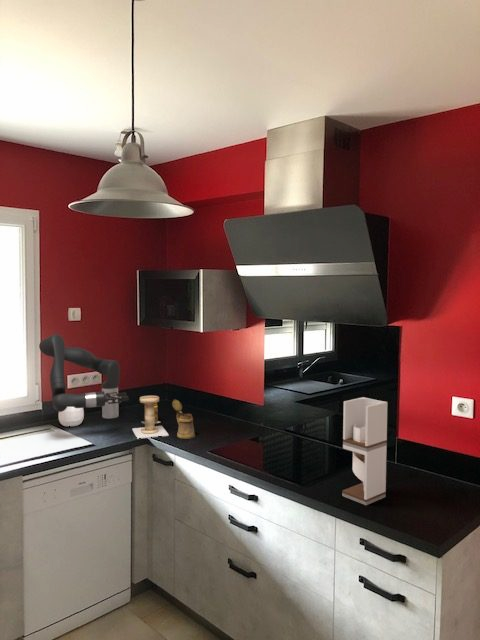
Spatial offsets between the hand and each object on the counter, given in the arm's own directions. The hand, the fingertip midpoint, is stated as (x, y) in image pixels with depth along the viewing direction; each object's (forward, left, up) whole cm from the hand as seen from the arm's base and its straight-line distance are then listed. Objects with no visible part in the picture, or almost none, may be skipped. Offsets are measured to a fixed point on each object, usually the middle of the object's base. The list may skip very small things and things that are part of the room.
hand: (127, 396), depth 268 cm
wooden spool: (+1, +11, -19) cm, 22 cm away
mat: (+1, +11, -20) cm, 23 cm away
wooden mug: (+12, +26, -20) cm, 35 cm away
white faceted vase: (-28, -27, -20) cm, 44 cm away
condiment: (-19, +15, -20) cm, 31 cm away
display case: (+109, +70, -20) cm, 131 cm away
